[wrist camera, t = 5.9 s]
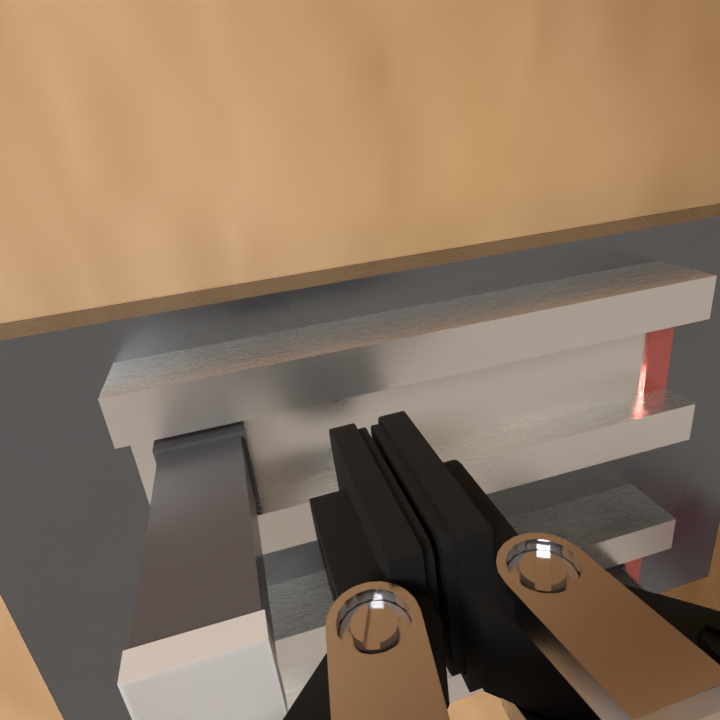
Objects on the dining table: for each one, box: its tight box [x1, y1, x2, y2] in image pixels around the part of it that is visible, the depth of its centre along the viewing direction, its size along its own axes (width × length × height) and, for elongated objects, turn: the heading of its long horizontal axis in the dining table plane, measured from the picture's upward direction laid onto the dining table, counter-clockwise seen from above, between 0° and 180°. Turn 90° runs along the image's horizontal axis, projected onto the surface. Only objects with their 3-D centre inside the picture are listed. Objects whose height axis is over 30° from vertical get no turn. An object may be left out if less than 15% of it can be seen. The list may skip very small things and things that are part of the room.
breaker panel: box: [0, 204, 720, 720], centre depth 16 cm, size 15×24×4 cm, turn 97°
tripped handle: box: [117, 421, 288, 720], centre depth 10 cm, size 2×2×6 cm
